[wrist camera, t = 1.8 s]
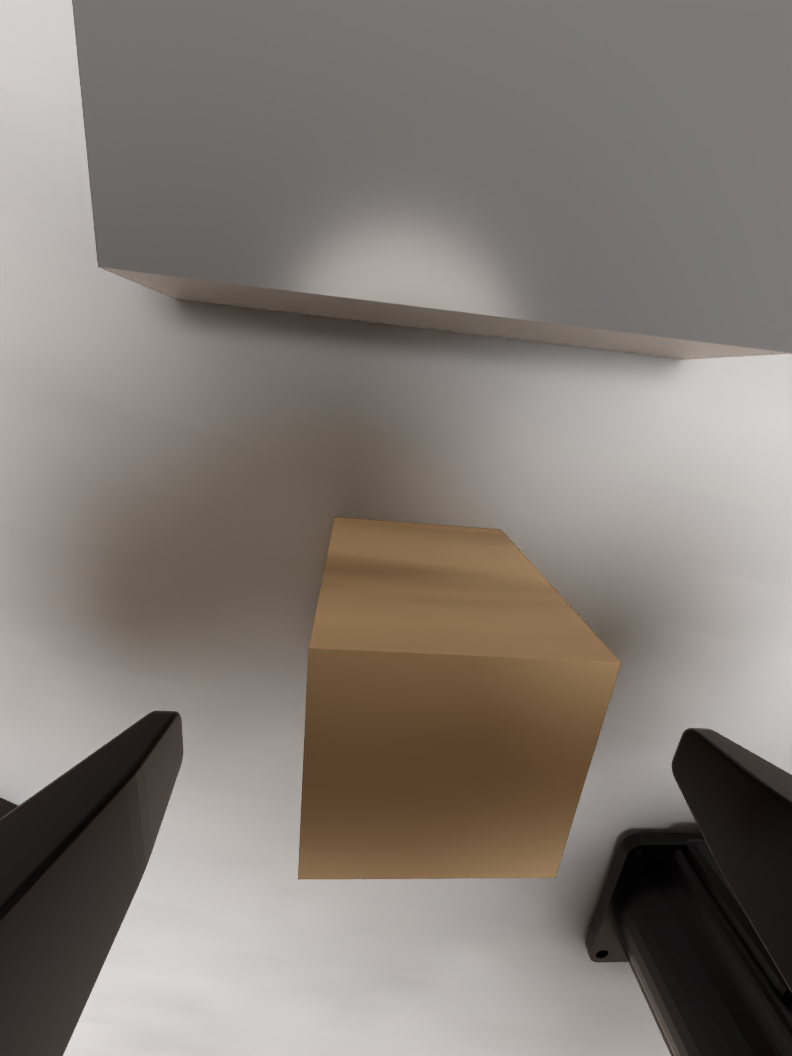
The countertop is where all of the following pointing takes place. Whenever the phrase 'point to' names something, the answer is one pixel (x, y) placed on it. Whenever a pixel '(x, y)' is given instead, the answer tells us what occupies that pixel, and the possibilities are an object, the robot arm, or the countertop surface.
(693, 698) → the countertop surface
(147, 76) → the slate base
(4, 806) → the ammunition clip
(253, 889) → the countertop surface
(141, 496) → the countertop surface
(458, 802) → the wooden block
